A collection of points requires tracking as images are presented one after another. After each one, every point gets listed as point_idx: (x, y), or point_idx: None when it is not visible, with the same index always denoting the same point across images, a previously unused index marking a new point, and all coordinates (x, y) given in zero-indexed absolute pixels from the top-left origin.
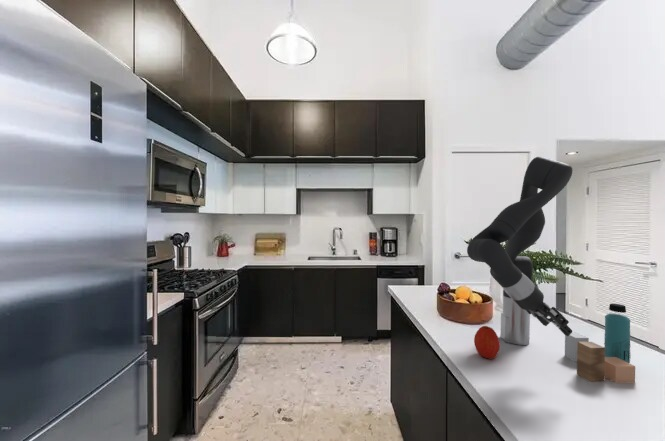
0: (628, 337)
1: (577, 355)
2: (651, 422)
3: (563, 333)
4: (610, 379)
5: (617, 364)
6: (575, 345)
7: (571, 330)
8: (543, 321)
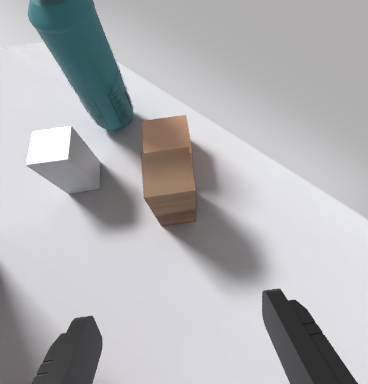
0: (112, 53)
1: (153, 212)
2: (338, 210)
3: (273, 341)
4: None
5: (181, 142)
6: (79, 170)
7: (282, 294)
8: (87, 376)
